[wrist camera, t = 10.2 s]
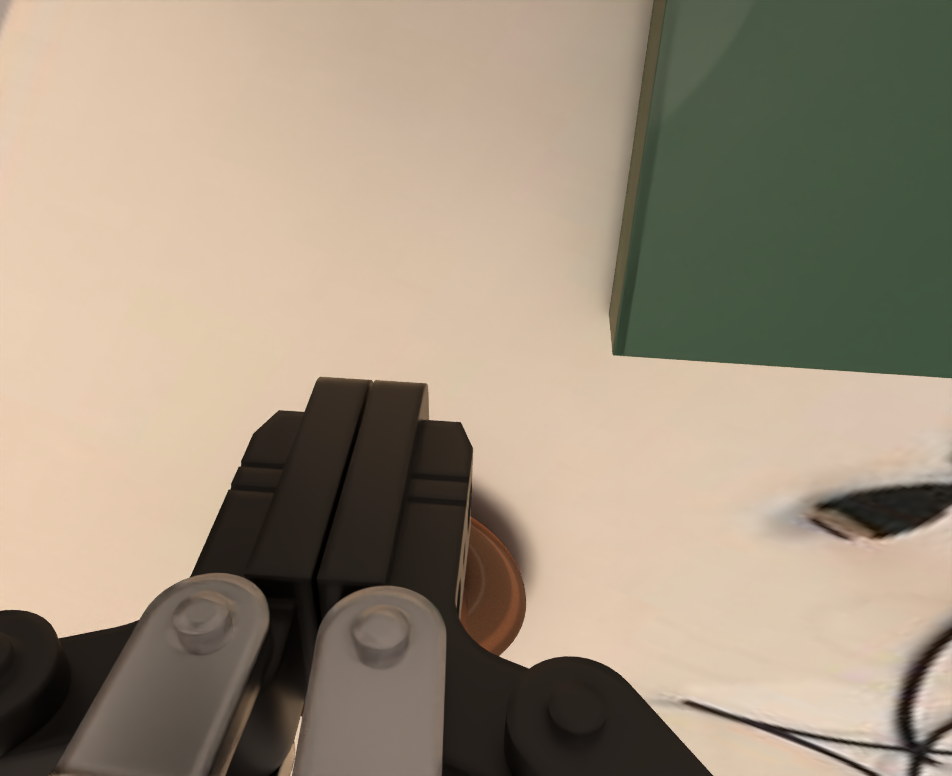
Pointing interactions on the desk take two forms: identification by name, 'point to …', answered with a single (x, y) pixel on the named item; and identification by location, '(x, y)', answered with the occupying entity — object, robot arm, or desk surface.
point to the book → (791, 187)
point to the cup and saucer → (491, 592)
